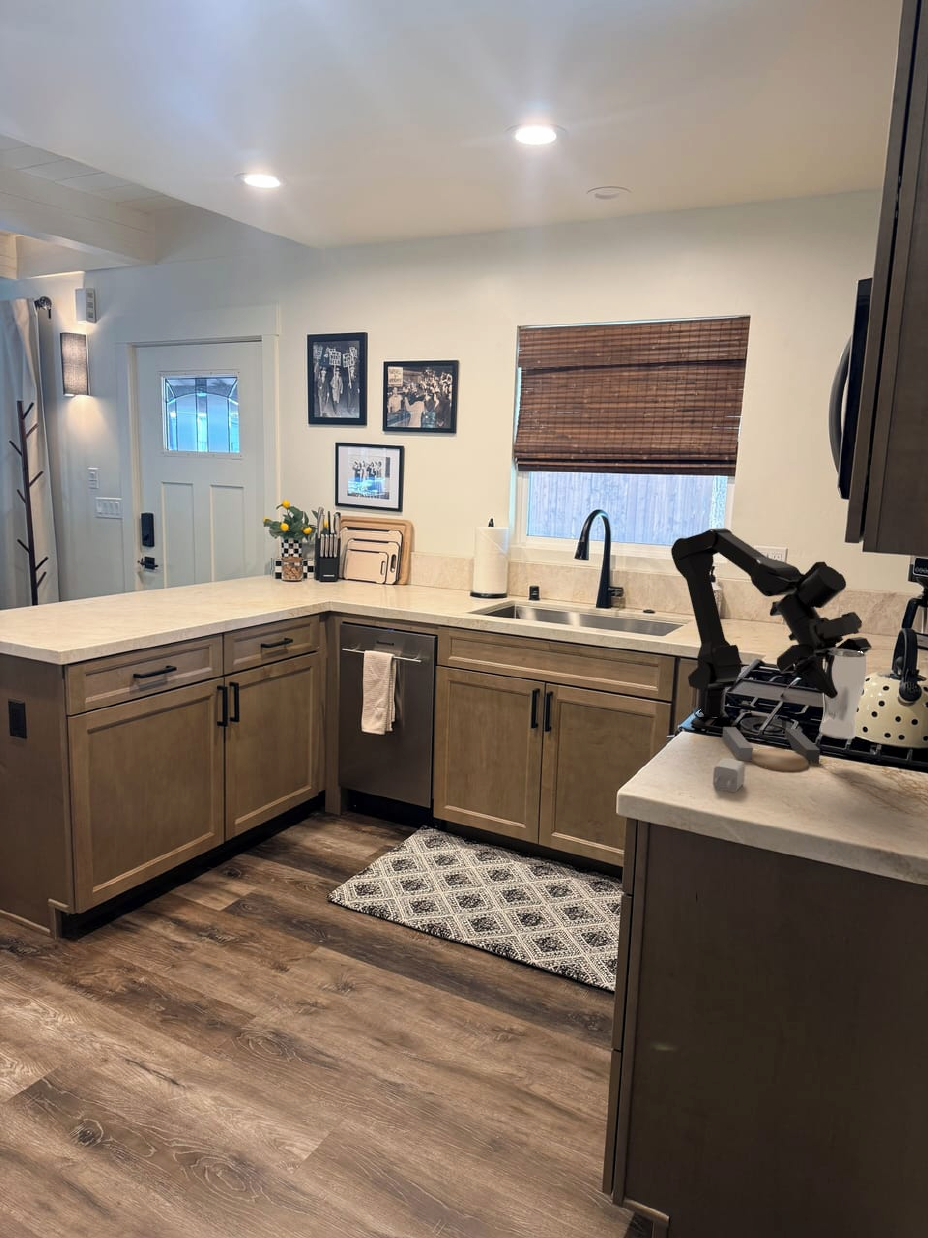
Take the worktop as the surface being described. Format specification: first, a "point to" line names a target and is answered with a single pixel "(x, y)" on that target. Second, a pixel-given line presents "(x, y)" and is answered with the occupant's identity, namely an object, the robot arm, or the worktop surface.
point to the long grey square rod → (802, 745)
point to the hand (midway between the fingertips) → (848, 695)
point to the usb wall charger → (729, 775)
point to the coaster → (779, 760)
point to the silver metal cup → (843, 692)
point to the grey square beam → (737, 743)
